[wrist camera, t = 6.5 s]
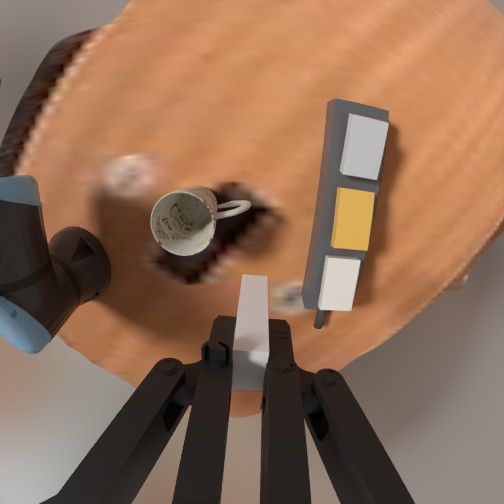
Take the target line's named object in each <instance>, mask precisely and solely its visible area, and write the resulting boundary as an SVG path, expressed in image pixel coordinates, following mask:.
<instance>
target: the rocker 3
mask: <svg viewBox="0 0 504 504" xmlns="http://www.w3.org/2000/svg"><path fill="white" fill-rule="evenodd" d="M360 261H361V260H360V259H358V258H356V257H344V256H332V255H326V257H325V264H324V271H323V277H322V284H321V290H320V296H319V302H318V307H319V309H320V310H339V311H351V308H352V303H353V299H354V294H355V289H356V283H357V278H358V273H359V267H360Z"/></svg>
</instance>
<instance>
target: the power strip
mask: <svg viewBox="0 0 504 504" xmlns="http://www.w3.org/2000/svg"><path fill="white" fill-rule="evenodd" d="M349 113H351V114H355V115H360V116H364V117H369V118H373V119H377V120H381V121H385V122H387V123H388V117H389V111H387V110H383V109H380V108H376V107H372V106H368V105H364V104H359V103H355V102H350V101H346V100H341V99H336V98H335V99H333V100H331V101H329V102H328V103H327V115H326V126H325V136H324V146H323V155H322V164H321V172H320V180H319V188H318V195H317V203H316V210H315V216H314V223H313V230H312V236H311V242H310V248H309V254H308V260H307V266H306V272H305V277H304V283H303V288H302V293H301V294H302V298H303V303H304V307H305V308H307V309H318V310H317V314H316V318H315V322H314V327H315V328H316V329H321V328H322V326H323V322H324V318H325V315H326V311H327V310H320V309H319V307H318V302H319V296H320V290H321V284H322V277H323V271H324V264H325V257H326V255H332V256H344V257H356V258H358V259H360V260H361V261H360V267H359V273H358V278H357V283H356V289H357V286H358V282H359V279H360V275H361V271H362V267H363V263H364V259H365V255H366V251H363V250H353V249H342V248H333V247H332V246H331V240H332V232H333V224H334V215H335V206H336V196H337V187H340V188H348V189H354V190H361V191H367V192H373V193H375V196H374V206H373V214H372V222H371V229H372V225H373V220H374V215H375V210H376V205H377V199H378V194H379V188H380V182H381V176H382V169H383V162H384V154H385V146H386V141H385V146H384V151H383V155H382V160H381V165H380V169H379V173H378V177H377V180H374V179H368V178H362V177H356V176H350V175H344V174H342V173H341V172H340V165H341V160H342V155H343V149H344V143H345V137H346V131H347V125H348V118H349ZM386 138H387V136H386ZM370 234H371V230H370ZM369 239H370V237H369ZM356 289H355V293H356ZM354 296H355V294H354ZM353 300H354V299H353Z"/></svg>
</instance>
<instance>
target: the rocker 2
mask: <svg viewBox="0 0 504 504" xmlns="http://www.w3.org/2000/svg"><path fill="white" fill-rule="evenodd" d="M374 196H375V193H373V192H367V191H361V190H354V189H348V188H340V187H337V196H336V206H335V215H334V224H333V232H332V240H331V246H332V247H333V248H342V249H353V250H363V251H367V250H368V244H369V237H370V230H371V222H372V214H373V206H374Z"/></svg>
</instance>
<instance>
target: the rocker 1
mask: <svg viewBox="0 0 504 504" xmlns="http://www.w3.org/2000/svg"><path fill="white" fill-rule="evenodd" d="M388 125H389V123H387V122H385V121H381V120H377V119H373V118H369V117H364V116H360V115H355V114H351V113H349V118H348V125H347V131H346V137H345V143H344V149H343V155H342V160H341V165H340V172H341V173H342V174H344V175H350V176H356V177H362V178H368V179H374V180H377V177H378V173H379V169H380V165H381V160H382V155H383V151H384V146H385V141H386V136H387V131H388Z"/></svg>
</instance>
